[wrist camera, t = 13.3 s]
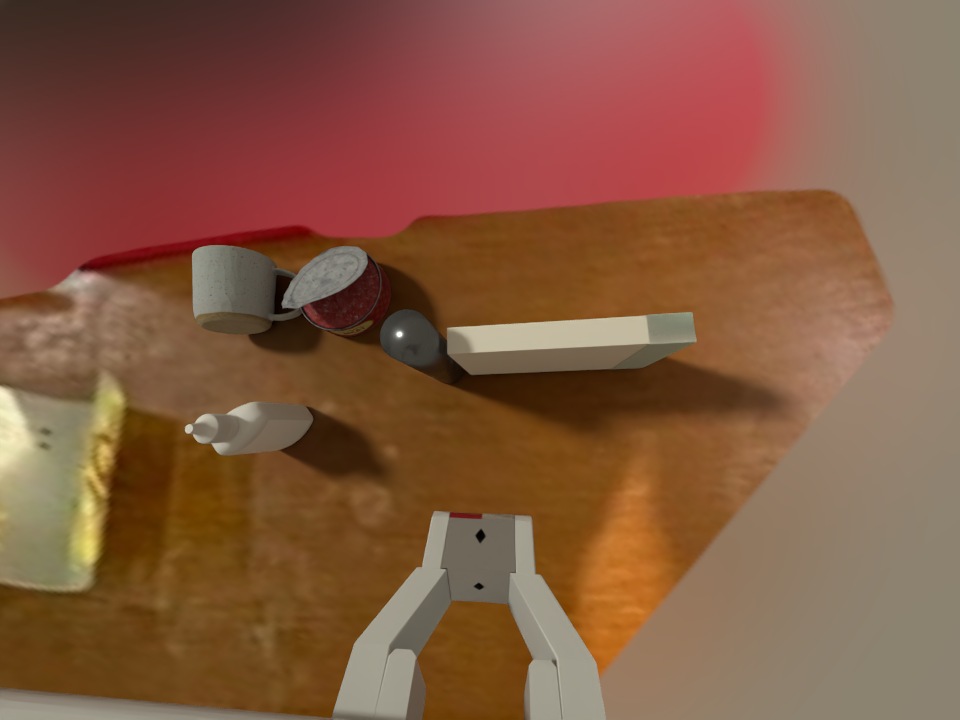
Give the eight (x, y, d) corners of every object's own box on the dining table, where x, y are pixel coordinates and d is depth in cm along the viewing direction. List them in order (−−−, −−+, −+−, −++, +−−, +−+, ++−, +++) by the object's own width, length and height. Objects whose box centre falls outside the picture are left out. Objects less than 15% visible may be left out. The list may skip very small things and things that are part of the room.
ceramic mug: (231, 341, 41) (167, 322, 34) (234, 278, 43) (173, 247, 35) (314, 329, 40) (267, 307, 33) (313, 265, 42) (268, 231, 34)
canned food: (338, 334, 45) (255, 308, 37) (364, 262, 45) (286, 221, 37) (387, 354, 38) (297, 327, 30) (417, 269, 38) (336, 220, 30)
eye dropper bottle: (317, 442, 37) (222, 450, 26) (271, 452, 38) (156, 464, 26) (313, 403, 38) (220, 393, 27) (268, 413, 39) (157, 408, 27)
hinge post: (462, 386, 36) (424, 363, 23) (430, 381, 37) (374, 355, 23) (468, 354, 37) (435, 312, 23) (437, 349, 37) (386, 306, 24)
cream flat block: (470, 375, 36) (447, 354, 25) (470, 355, 36) (447, 327, 26) (642, 368, 34) (696, 341, 23) (640, 347, 34) (692, 312, 23)
